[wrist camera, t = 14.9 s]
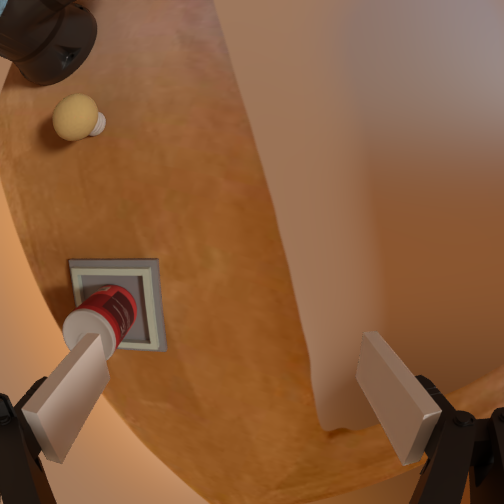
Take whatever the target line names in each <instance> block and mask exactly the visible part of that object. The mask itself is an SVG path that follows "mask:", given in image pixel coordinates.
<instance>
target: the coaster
mask: <svg viewBox="0 0 504 504" xmlns="http://www.w3.org/2000/svg"><path fill="white" fill-rule="evenodd" d="M69 266H70V274H71V281H72V287H73V293H74V299H75V305H76V308H77V307H78V306H79V305H80V304H82V303H83V302H84V301H85V300H86V299H88V298H89V297H90V296H91V295H92V294H94V293H95V292H96V291H97V290H98V289H100V288H101V287H103V286H107V285H118V286H121V287H123V288H125V289H126V290H128V291H129V292H130V293H131V295H132V296H133V298H134V299H135V302H136V305H137V316H136V320H135V322H134V324H133V325H132V327H131V328H130V330H129V331H128V333H127V334H126V335H125V337H124V338H123V340H122V341H121V343H120V344H119V346H118V347H117V349H127V350H142V351H161V352H166V351H167V342H166V334H165V325H164V316H163V307H162V296H161V285H160V273H159V259H158V258H130V259H70V260H69Z"/></svg>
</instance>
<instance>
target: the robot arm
mask: <svg viewBox="0 0 504 504" xmlns="http://www.w3.org/2000/svg"><path fill="white" fill-rule="evenodd" d="M74 1H76V0H0V56H1V57H3V58H6V59H8V60H10V61H13V62H14V64H15V65H16V66H17V67H18V68H19V70H20V72H21V73H22V75H23V76H24V77H25V78H26V79H27V80H29V81H31V82H34V83H36V84H39V85H50V84H54V83H57V82H59V81H61V80H63V79H65V78H67V77H68V76H69V75H71V74H72V73H73V72H74V71H75V70H77V69H78V68H79V67H80V65H81V64H82V63H83V62H84V61H85V59H86V58H87V56H88V55H89V53H90V51H91V50H92V47H93V45H94V43H95V40H96V35H97V23H96V20H95V18H94V16H93V15H92V14H91V13H90V11H89V10H88V9H86V8H85V7H84V6H82V5H79V4H75V3H72V2H74ZM356 379H357V381H358V383H359V385H360V387H361V388H362V390H363V392H364V394H365V395H366V398H367V399H368V401H369V403H370V405H371V407H372V408H373V410H374V412H375V414H376V416H377V418H378V419H379V421H380V423H381V425H382V427H383V429H384V431H385V433H386V435H387V436H388V438H389V440H390V442H391V444H392V446H393V448H394V450H395V451H396V453H397V455H398V457H399V459H400V461H401V463H402V465H403V466H404V465H408V464H411V463H415V462H418V461H420V459H421V457H422V455H423V453H424V451H425V453H426V454H427V456H428V459H427V461H426V463H425V465H424V467H423V469H422V471H421V473H420V474H421V476H420V479H419V481H418V484H417V486H416V488H415V491H414V493H413V496H412V498H411V500H410V502H409V504H460V503H461V499H462V496H463V492H464V488H465V484H466V479H467V475H468V471H469V479H470V480H469V481H470V502H471V503H470V504H504V407H502V408H497V409H496V410H494V412H493V413H492V415H491V417H490V418H487V419H475V417H474V416H473V415H472V414H470V413H469V412H466V411H459V410H458V411H456V410H455V409H454V407H453V406H452V405H451V404H450V403H449V401H448V400H447V399H446V398H445V397H444V396H443V394H441V392H440V391H439V390H438V389H437V388H436V386H435V385H434V384H433V383H432V382H431V381H430V380H429V379H427V378H426V377H424V376H422V375H418V376H414V375H413V374H412V373H411V371H410V370H409V369H408V368H407V367H406V365H405V364H404V363H403V362H402V361H401V359H400V358H399V357H398V356H397V355H396V353H394V351H393V350H392V349H391V348H390V346H389V345H388V344H387V343H386V342H385V340H384V339H383V338H382V337H381V336H380V334H379V333H378V332H377V331H374V332H363V336H362V343H361V349H360V355H359V361H358V367H357V373H356ZM109 380H110V376H109V372H108V368H107V363H106V359H105V355H104V350H103V346H102V341H101V336H100V334H97V333H87V334H86V335H85V336H84V337H83V338H82V339H81V340H80V341H79V342H78V344H77V345H76V346H75V347H74V348H73V349H72V350H71V351H70V352H69V354H68V355H67V356H66V357H65V358H64V359H63V360H62V362H61V363H60V364H59V365H58V366H57V367H56V369H55V370H54V371H53V372H52V373H51V374H50V375H49V377H43V378H41V379H39V380H38V381H36V382H35V383H34V384H33V386H32V387H31V388H30V389H29V390H28V391H27V392H26V395H24V396H23V397H22V398H21V399H20V401H19V402H18V403H17V404H16V405H15V406H14V407H13V406H12V404H11V402H10V399H9V397H8V396H7V395H5V394H2V393H0V497H1V496H2V500H3V504H57V503H56V501H55V498H54V496H53V493H52V491H51V488H50V485H49V483H48V480H47V477H46V474H45V471H44V468H43V466H42V463H41V460H40V458H39V457H38V455H39V453H40V452H41V450H42V452H43V453H44V455H45V457H46V459H47V460H50V461H54V462H57V463H60V464H62V463H63V461H64V459H65V457H66V455H67V454H68V452H69V450H70V448H71V446H72V444H73V443H74V441H75V439H76V437H77V435H78V433H79V432H80V430H81V428H82V426H83V424H84V423H85V421H86V419H87V417H88V416H89V414H90V412H91V410H92V409H93V407H94V405H95V403H96V401H97V400H98V398H99V396H100V395H101V393H102V391H103V390H104V388H105V386H106V385H107V383H108V381H109Z"/></svg>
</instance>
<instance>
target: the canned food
mask: <svg viewBox="0 0 504 504" xmlns="http://www.w3.org/2000/svg"><path fill="white" fill-rule="evenodd" d="M136 316H137V305H136V302H135V299H134V298H133V296H132V295H131V293H130V292H129V291H128V290H126V289H125V288H123V287H121V286H118V285H107V286H103V287H101V288H100V289H98V290H97V291H96V292H95V293H94V294H92V295H91V296H90V297H89V298H88V299H86V300H85V301H84V302H83V303H82V304H80V305H79V306H78V307H77V308H76V309H75V310H73V311H72V312H71V313H70V314H69V315H68V317H67V318H66V319H65V321H64V324H63V337H64V341H65V343H66V345H67V346H68V348H69V350H70V351H71V350H72V349H73V348H74V347H75V346H76V345H77V344H78V342H79V341H80V340H81V339H82V338H83V337H84V336H85V335H86V334H87V333H97V334H100V336H101V341H102V346H103V350H104V355H105V359H106V360H108V359H109V358H110V357H111V356H112V354H113V353H114V352H115V350H116V349H117V347H118V346H119V344H120V343H121V341H122V340H123V338H124V337H125V335H126V334H127V333H128V331H129V330H130V328H131V327H132V325H133V324H134V322H135V320H136Z"/></svg>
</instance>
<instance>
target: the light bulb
mask: <svg viewBox="0 0 504 504" xmlns="http://www.w3.org/2000/svg"><path fill="white" fill-rule="evenodd" d="M52 120H53V126H54V129H55V131H56V133H57V134H58V135H59V136H60V137H61V138H63V139H65V140H68V141H77V140H81V139H83V138H85V137H86V136H88V135H90V136H96V135H98V134H100V133H101V132H102V131H103V129H104V127H105V124H106V120H105V117H104V115H103V114H102V113H100V112H98V109H97V106H96V104H95V102H94V101H93V100H92V99H91V98H90V97H89V96H87V95H84V94H72V95H69V96H68V97H66V98H64V99H63V100H62V101H61V102H59V104H58V105H57V106H56V108H55V109H54V112H53V119H52Z"/></svg>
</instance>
